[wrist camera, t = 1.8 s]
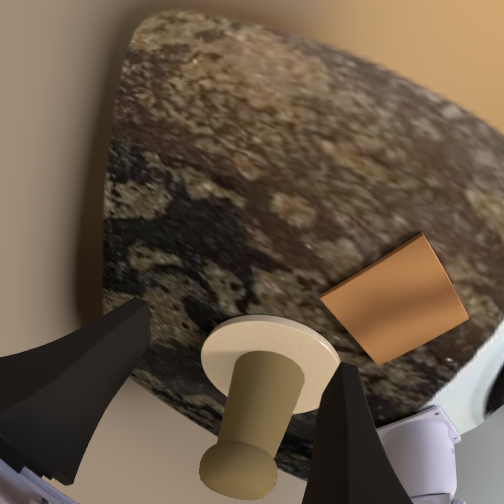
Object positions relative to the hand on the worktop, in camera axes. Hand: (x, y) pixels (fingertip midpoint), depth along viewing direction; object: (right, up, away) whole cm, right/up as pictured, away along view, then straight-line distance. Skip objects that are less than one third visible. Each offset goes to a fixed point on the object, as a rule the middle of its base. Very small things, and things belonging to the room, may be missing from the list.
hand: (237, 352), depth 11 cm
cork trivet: (+10, 0, +9) cm, 14 cm away
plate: (+2, -6, +15) cm, 16 cm away
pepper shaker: (+2, -7, +14) cm, 16 cm away
